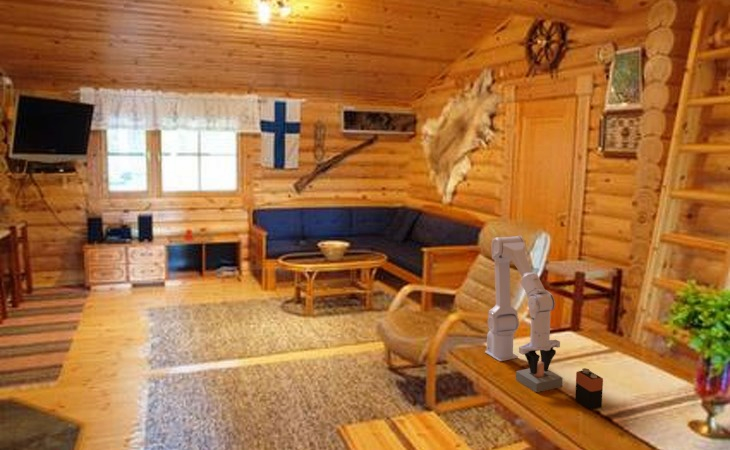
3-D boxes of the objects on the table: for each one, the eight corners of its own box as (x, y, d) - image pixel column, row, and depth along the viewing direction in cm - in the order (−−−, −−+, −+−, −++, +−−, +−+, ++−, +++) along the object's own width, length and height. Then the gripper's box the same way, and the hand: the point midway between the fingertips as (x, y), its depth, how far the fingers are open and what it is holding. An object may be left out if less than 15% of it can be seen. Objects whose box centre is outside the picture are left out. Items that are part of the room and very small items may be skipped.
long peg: (531, 382, 178) (532, 361, 177) (539, 381, 179) (539, 360, 178) (537, 386, 175) (538, 365, 174) (545, 384, 176) (546, 363, 175)
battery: (586, 397, 167) (588, 366, 165) (602, 408, 160) (604, 375, 159) (574, 400, 166) (575, 368, 164) (589, 410, 159) (591, 377, 158)
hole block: (515, 379, 180) (516, 371, 179) (540, 374, 184) (540, 365, 183) (536, 392, 171) (536, 383, 170) (562, 386, 174) (562, 377, 174)
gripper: (529, 338, 168) (528, 380, 170) (567, 331, 173) (565, 372, 176) (515, 331, 174) (514, 372, 177) (551, 324, 180) (550, 364, 182)
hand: (538, 371), depth 176 cm, fingers open, 4 cm apart
